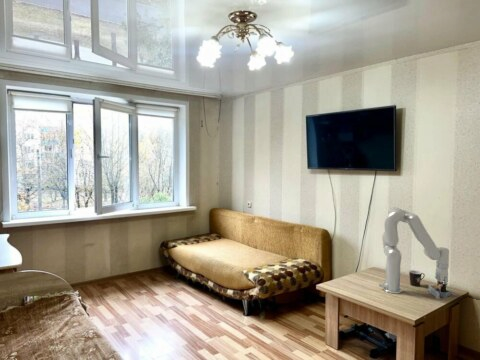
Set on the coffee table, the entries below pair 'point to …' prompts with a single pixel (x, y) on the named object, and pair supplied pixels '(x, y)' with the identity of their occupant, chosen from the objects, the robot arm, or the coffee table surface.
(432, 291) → the fence
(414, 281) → the coffee mug
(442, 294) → the dish
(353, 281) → the coffee table surface
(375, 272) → the coffee table surface
